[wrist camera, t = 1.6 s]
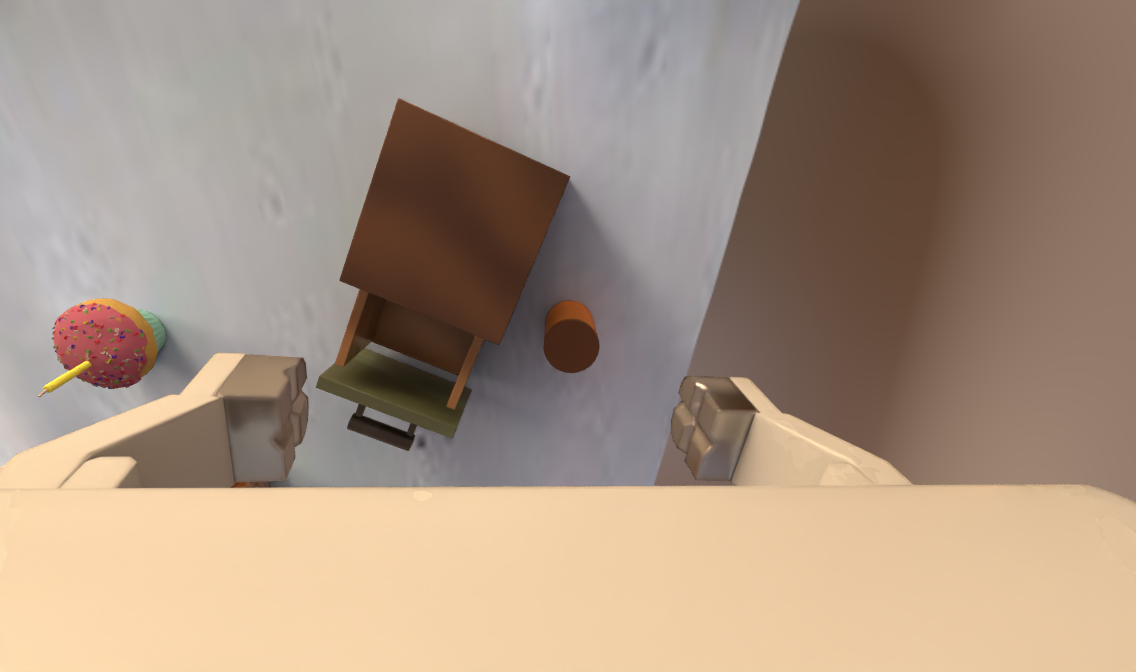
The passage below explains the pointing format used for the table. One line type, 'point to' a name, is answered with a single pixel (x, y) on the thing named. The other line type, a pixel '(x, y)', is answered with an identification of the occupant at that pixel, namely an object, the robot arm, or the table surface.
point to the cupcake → (106, 344)
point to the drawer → (401, 370)
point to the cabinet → (451, 223)
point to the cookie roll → (570, 337)
